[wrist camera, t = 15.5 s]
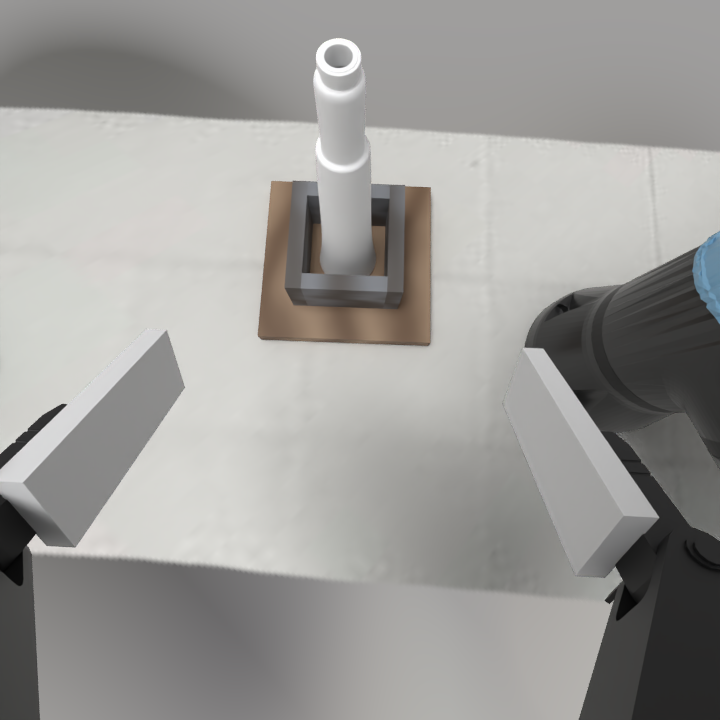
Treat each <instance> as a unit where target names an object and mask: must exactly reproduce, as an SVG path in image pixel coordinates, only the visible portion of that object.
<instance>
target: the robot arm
mask: <svg viewBox="0 0 720 720" xmlns="http://www.w3.org/2000/svg"><path fill="white" fill-rule="evenodd" d="M184 388H185V386H184V383H183V380H182V377H181V373H180V370H179V367H178V364H177V361H176V358H175V355H174V351H173V348H172V345H171V342H170V339H169V336H168V333H167V330H159V329H146V330H144V331H143V332H142V333H141V334H140V335H139V336H138V337H137V338H136V339H135V340H134V341H133V342H132V343H131V344H130V345H129V346H128V347H127V348H126V349H125V350H124V351H123V352H122V353H121V354H120V355H119V356H117V357H116V358H115V359H114V360H113V361H112V362H111V363H110V364H109V365H108V366H107V367H106V368H105V369H104V370H103V371H102V372H101V373H100V374H99V375H98V376H97V377H96V378H95V379H94V380H93V381H92V382H90V383H89V384H88V385H87V386H86V387H85V388H84V389H83V390H82V391H81V392H80V393H79V394H78V395H77V396H76V397H75V398H74V399H73V400H72V401H71V402H70V403H69V404H61V405H59V406H58V407H56V408H54V409H52V410H51V411H49V412H47V413H46V414H44V415H42V416H41V417H40V418H39V419H38V420H37V421H36V422H35V423H34V424H33V425H31V426H30V427H29V428H28V431H27V432H24V433H23V434H22V435H21V436H20V437H18V438H17V439H16V442H15V443H12V444H11V445H10V446H9V447H8V448H7V449H5V450H4V451H3V452H2V453H1V454H0V720H40V714H39V693H38V675H37V653H36V633H35V613H34V593H33V573H32V554H31V552H30V549H29V547H28V546H27V544H28V543H29V542H30V541H31V539H32V538H33V537H34V536H35V534H37V536H38V537H39V538H40V539H41V540H42V541H43V542H44V543H45V544H46V546H58V547H76V546H77V544H78V543H79V542H80V540H81V539H82V537H83V536H84V534H85V533H86V531H87V530H88V528H89V527H90V525H91V524H92V523H93V521H94V520H95V518H96V517H97V515H98V514H99V512H100V511H101V509H102V508H103V506H104V505H105V504H106V502H107V501H108V499H109V498H110V496H111V495H112V493H113V492H114V490H115V489H116V487H117V486H118V485H119V483H120V482H121V480H122V479H123V477H124V476H125V474H126V473H127V471H128V470H129V468H130V467H131V466H132V464H133V463H134V461H135V460H136V458H137V457H138V455H139V454H140V452H141V451H142V449H143V448H144V447H145V445H146V444H147V442H148V441H149V439H150V438H151V436H152V435H153V433H154V432H155V430H156V429H157V428H158V426H159V425H160V423H161V422H162V420H163V419H164V417H165V416H166V414H167V413H168V411H169V410H170V409H171V407H172V406H173V404H174V403H175V401H176V400H177V398H178V397H179V395H180V394H181V392H182V391H183V390H184ZM503 406H504V408H505V411H506V413H507V415H508V418H509V420H510V423H511V425H512V427H513V430H514V432H515V434H516V437H517V439H518V441H519V444H520V446H521V449H522V451H523V453H524V456H525V458H526V460H527V463H528V465H529V468H530V470H531V472H532V475H533V477H534V479H535V482H536V484H537V486H538V489H539V491H540V494H541V496H542V498H543V501H544V503H545V505H546V508H547V510H548V513H549V515H550V517H551V520H552V522H553V524H554V527H555V529H556V531H557V534H558V536H559V539H560V541H561V543H562V546H563V548H564V550H565V553H566V555H567V557H568V560H569V562H570V565H571V567H572V569H573V572H574V574H575V576H584V577H601V578H605V577H606V576H607V575H608V574H609V573H610V572H611V571H612V569H613V568H614V567H615V566H616V568H617V570H618V572H619V573H620V575H621V577H622V579H623V581H622V582H621V583H620V584H619V585H618V586H617V587H616V588H615V589H614V590H613V591H612V592H611V593H610V594H609V595H608V597H607V598H606V600H605V601H606V602H607V603H609V604H610V603H611V602H612V601H613V600H614V602H613V606H612V609H611V612H610V616H609V619H608V623H607V626H606V629H605V633H604V636H603V639H602V643H601V646H600V650H599V653H598V656H597V660H596V663H595V667H594V670H593V673H592V677H591V680H590V683H589V687H588V691H587V694H586V697H585V700H584V704H583V708H582V711H581V714H580V718H579V720H720V541H719V540H717V539H716V538H714V537H712V536H711V535H709V534H708V533H705V532H703V531H700V530H698V529H696V528H691V527H690V525H689V524H688V523H687V522H686V520H685V519H684V518H683V516H682V515H681V514H680V512H679V511H678V510H677V508H676V507H675V506H674V504H673V503H672V502H671V500H670V499H669V498H668V496H667V495H666V493H665V492H664V491H663V489H662V488H661V487H660V485H659V484H658V483H657V481H656V480H655V479H654V477H653V476H650V472H649V471H648V469H647V468H646V467H645V465H644V464H642V463H641V460H640V459H639V457H638V456H637V455H636V453H635V452H634V451H633V449H632V448H631V447H630V445H629V444H627V443H626V442H625V441H624V440H622V439H621V438H620V437H619V436H617V435H616V434H615V433H619V432H627V431H633V430H637V429H640V428H643V427H645V426H647V425H649V424H652V423H654V422H656V421H658V420H660V419H663V418H665V417H667V416H669V415H671V414H673V413H681V412H686V413H687V414H688V416H689V418H690V420H691V421H692V423H693V425H694V426H695V428H696V430H697V431H698V433H699V435H700V437H701V438H702V440H703V442H704V443H705V445H706V447H707V449H708V451H709V453H710V454H711V456H712V458H713V460H714V461H715V463H716V465H717V466H718V468H719V470H720V231H719V232H717V233H716V234H714V235H712V236H711V237H709V238H708V240H707V241H706V242H705V243H704V244H702V245H701V246H699V247H697V248H695V249H693V250H691V251H689V252H687V253H685V254H683V255H681V256H679V257H677V258H675V259H673V260H671V261H669V262H667V263H665V264H663V265H661V266H659V267H657V268H655V269H653V270H651V271H649V272H647V273H645V274H643V275H641V276H639V277H637V278H635V279H633V280H631V281H630V282H628V283H626V284H624V285H614V286H604V287H594V288H587V289H582V290H579V291H576V292H573V293H570V294H568V295H566V296H564V297H563V298H561V299H559V300H558V301H556V302H554V303H553V304H551V305H550V306H548V307H547V308H546V309H545V310H543V311H542V312H541V313H540V315H539V316H538V317H537V318H536V320H535V321H534V323H533V324H532V326H531V328H530V330H529V333H528V336H527V339H526V344H525V348H522V350H521V353H520V356H519V358H518V361H517V364H516V367H515V370H514V373H513V375H512V378H511V381H510V384H509V387H508V390H507V393H506V395H505V398H504V401H503Z"/></svg>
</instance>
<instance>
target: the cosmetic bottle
mask: <svg viewBox="0 0 720 720" xmlns="http://www.w3.org/2000/svg"><path fill="white" fill-rule="evenodd" d="M316 64H317V68H316V70H315V73H314V79H313V84H314V93H315V100H316V109H317V117H318V125H319V133H320V136H319V138H318V140H317V142H316V146H315V153H316V169H317V182H318V194H319V204H320V215H321V228H322V246H321V253H320V264H321V267H322V270H323V271H324V273H325V274H337V275H362V276H369V275H370V274H371V273H372V271H373V269H374V267H375V263H376V254H375V250H374V246H373V240H372V228H371V152H370V143H369V140H368V138H367V137H366V135H365V105H366V77H365V73H364V70H363V68H362V67H361V53H360V51H359V49H358V47H357V46H356V45H355V44H354V43H352V42H351V41H349V40H346V39H340V38H337V39H331V40H328V41H326V42H325V43H323V44H322V45H321V46H320V47H319V49H318V51H317V53H316Z"/></svg>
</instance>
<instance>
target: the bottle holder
mask: <svg viewBox="0 0 720 720" xmlns="http://www.w3.org/2000/svg"><path fill="white" fill-rule="evenodd" d="M430 226H431V187H406V186H405V185H384V184H371V228H372V240H373V246H374V250H375V254H376V263H375V267H374V269H373V271H372V273H371V274H370V275H369V276H362V275H337V274H325V273H324V271H323V270H322V267H321V264H320V253H321V246H322V228H321V215H320V204H319V194H318V182H310V181H293V182H282V181H271V192H270V203H269V215H268V226H267V237H266V249H265V260H264V271H263V283H262V294H261V305H260V317H259V328H258V337H259V338H260V339H264V340H290V341H316V342H342V343H368V344H394V345H420V346H428V345H429V343H430Z"/></svg>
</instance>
